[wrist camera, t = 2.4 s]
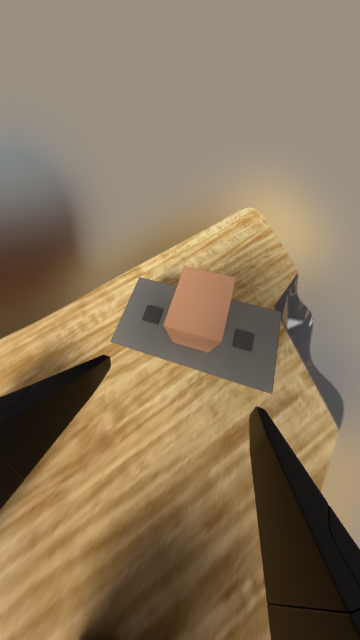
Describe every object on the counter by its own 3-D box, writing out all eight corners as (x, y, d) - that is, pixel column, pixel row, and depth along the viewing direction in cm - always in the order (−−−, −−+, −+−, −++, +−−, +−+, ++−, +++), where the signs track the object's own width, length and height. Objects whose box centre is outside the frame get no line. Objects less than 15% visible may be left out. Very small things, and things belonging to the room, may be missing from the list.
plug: (203, 356, 20) (221, 342, 10) (175, 347, 20) (163, 325, 10) (212, 322, 21) (236, 277, 11) (186, 314, 22) (184, 265, 11)
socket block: (251, 387, 19) (273, 394, 14) (127, 347, 22) (109, 341, 17) (261, 324, 22) (282, 311, 17) (148, 294, 24) (138, 276, 19)
